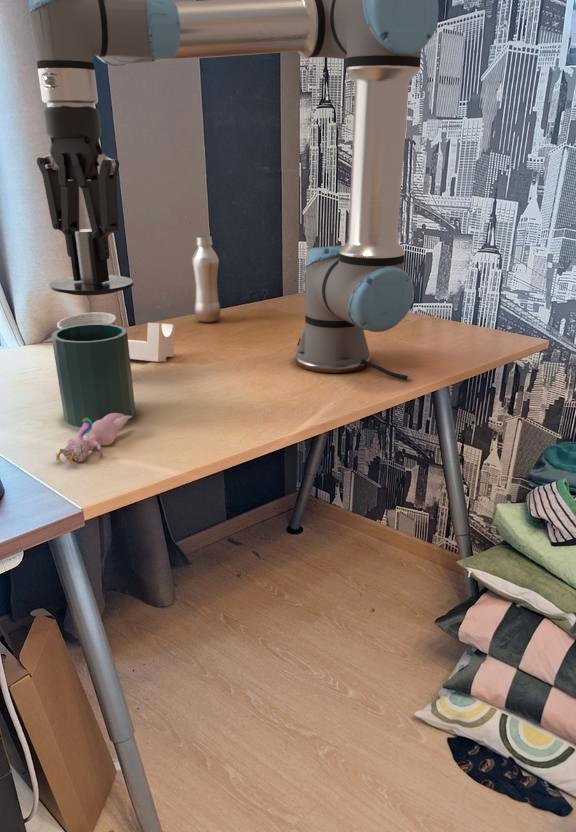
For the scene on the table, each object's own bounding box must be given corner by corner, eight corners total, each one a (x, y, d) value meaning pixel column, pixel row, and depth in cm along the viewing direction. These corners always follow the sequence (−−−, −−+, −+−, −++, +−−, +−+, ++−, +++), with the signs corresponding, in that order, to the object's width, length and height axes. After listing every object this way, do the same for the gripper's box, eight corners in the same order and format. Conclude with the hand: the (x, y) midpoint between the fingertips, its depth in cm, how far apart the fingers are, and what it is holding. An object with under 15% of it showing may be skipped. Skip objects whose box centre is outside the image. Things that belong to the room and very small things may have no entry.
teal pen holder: (149, 412, 124) (141, 328, 117) (105, 436, 114) (93, 346, 108) (96, 402, 128) (86, 320, 121) (50, 424, 119) (35, 336, 112)
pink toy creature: (83, 477, 104) (145, 428, 114) (73, 442, 101) (138, 394, 111) (51, 469, 107) (114, 421, 117) (40, 434, 103) (106, 388, 113)
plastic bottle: (207, 316, 184) (203, 233, 175) (226, 321, 181) (223, 236, 171) (189, 321, 180) (183, 236, 170) (208, 325, 176) (204, 239, 167)
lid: (150, 286, 114) (145, 228, 110) (97, 301, 104) (90, 238, 100) (87, 279, 119) (81, 223, 115) (32, 292, 109) (22, 232, 105)
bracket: (173, 360, 153) (174, 324, 152) (157, 361, 147) (159, 323, 145) (119, 355, 157) (120, 319, 155) (101, 355, 150) (102, 318, 149)
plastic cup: (54, 381, 138) (44, 318, 133) (102, 369, 145) (94, 309, 140) (86, 394, 132) (77, 329, 126) (134, 380, 139) (128, 318, 133)
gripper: (6, 105, 100) (34, 279, 111) (99, 105, 94) (118, 290, 105) (45, 106, 106) (67, 272, 117) (134, 106, 99) (149, 281, 111)
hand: (91, 280), depth 111 cm, fingers closed on lid, 3 cm apart
